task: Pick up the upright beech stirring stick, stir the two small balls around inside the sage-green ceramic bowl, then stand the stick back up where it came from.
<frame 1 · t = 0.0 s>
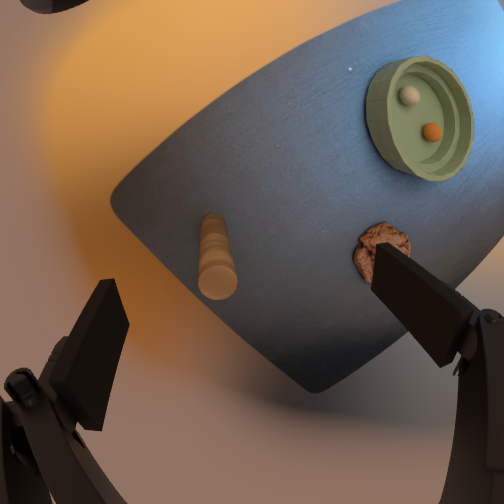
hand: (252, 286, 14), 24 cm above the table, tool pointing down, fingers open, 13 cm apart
cookie: (380, 250, 42), on the table
cream ball: (409, 95, 31), point 2 cm above the table, touching bowl
bowl: (411, 117, 34), on the table
orange ball: (432, 132, 33), point 2 cm above the table, touching bowl
stick: (213, 225, 37), on the table
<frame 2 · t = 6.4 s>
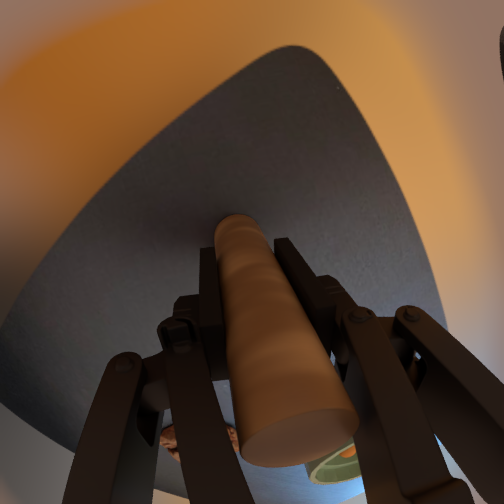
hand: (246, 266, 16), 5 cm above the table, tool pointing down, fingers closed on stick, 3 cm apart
cookie: (201, 437, 29), on the table
bowl: (357, 424, 33), on the table
orange ball: (347, 448, 32), point 2 cm above the table, touching bowl
stick: (237, 236, 20), on the table, touching gripper
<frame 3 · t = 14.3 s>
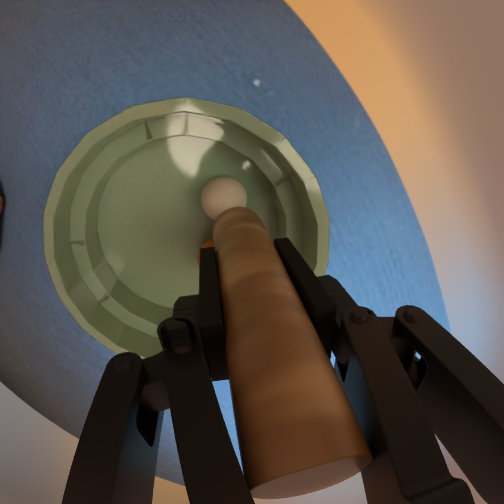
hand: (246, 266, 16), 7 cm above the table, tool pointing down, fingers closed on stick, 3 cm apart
cream ball: (223, 198, 19), point 2 cm above the table, tilted 15°, touching bowl, stick
bowl: (185, 227, 21), on the table
stick: (238, 230, 18), point 4 cm above the table, touching cream ball, gripper
when the fingers open (3 cm above the table, at t = 24.0 s): stick stays where it is, on the table.
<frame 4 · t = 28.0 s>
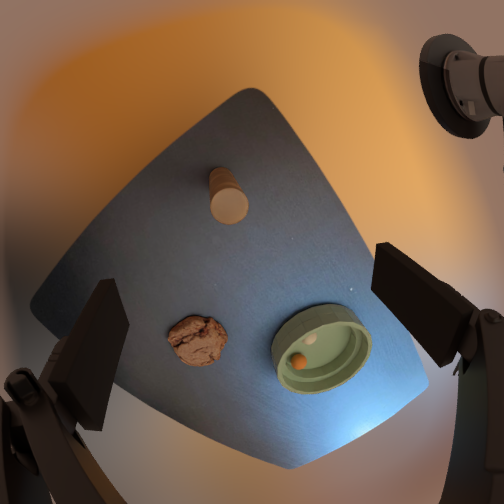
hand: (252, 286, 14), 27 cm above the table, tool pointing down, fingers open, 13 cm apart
cookie: (198, 337, 47), on the table
cream ball: (308, 336, 48), point 2 cm above the table, tilted 64°, touching bowl
bowl: (316, 340, 51), on the table
orange ball: (298, 361, 50), point 2 cm above the table, tilted 98°, touching bowl
stick: (221, 178, 37), on the table
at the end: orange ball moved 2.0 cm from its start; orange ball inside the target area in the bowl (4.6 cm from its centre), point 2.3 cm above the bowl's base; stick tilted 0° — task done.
